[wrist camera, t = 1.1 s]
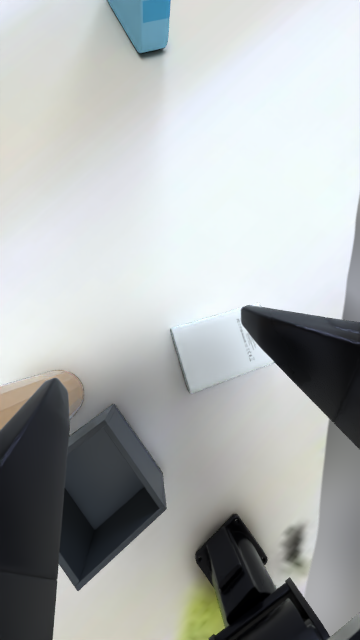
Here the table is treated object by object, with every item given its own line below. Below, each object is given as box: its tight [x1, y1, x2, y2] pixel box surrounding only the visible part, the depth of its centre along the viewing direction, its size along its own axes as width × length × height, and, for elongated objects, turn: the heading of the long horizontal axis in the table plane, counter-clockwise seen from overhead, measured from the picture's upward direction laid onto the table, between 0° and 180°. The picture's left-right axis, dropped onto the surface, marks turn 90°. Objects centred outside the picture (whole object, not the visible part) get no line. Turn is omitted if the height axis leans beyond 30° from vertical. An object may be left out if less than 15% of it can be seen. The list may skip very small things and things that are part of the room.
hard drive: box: [170, 303, 275, 394], centre depth 25 cm, size 2×8×12 cm
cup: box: [0, 370, 84, 430], centre depth 15 cm, size 6×6×13 cm
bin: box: [59, 404, 167, 591], centre depth 19 cm, size 10×9×5 cm
